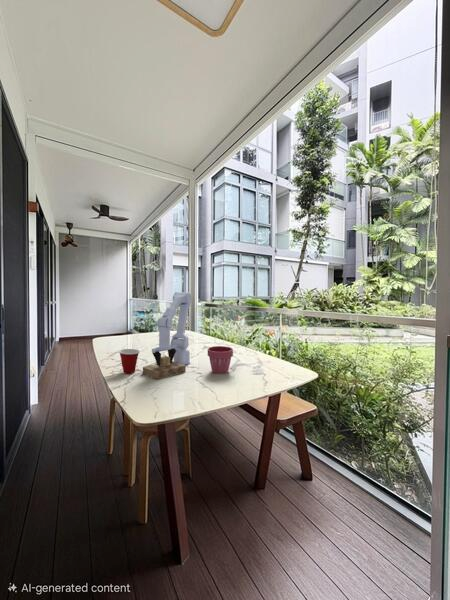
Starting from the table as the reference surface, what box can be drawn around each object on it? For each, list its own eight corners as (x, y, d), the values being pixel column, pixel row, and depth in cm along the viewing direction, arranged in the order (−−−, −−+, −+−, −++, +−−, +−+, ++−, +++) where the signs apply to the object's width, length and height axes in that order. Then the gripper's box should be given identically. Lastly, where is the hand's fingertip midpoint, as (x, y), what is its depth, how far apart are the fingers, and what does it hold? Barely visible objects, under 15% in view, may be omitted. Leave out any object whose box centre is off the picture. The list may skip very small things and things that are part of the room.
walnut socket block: (170, 366, 155) (170, 360, 155) (185, 371, 145) (185, 365, 145) (142, 373, 142) (142, 366, 142) (157, 379, 132) (157, 372, 132)
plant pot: (230, 376, 138) (231, 352, 138) (204, 374, 141) (204, 350, 140) (234, 368, 152) (234, 346, 152) (210, 367, 155) (210, 345, 154)
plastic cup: (135, 375, 138) (135, 352, 138) (115, 375, 139) (115, 352, 138) (142, 369, 149) (142, 348, 149) (123, 369, 149) (123, 348, 149)
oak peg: (165, 370, 146) (165, 355, 146) (170, 371, 144) (170, 357, 143) (159, 371, 143) (159, 357, 143) (163, 373, 141) (163, 358, 140)
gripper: (156, 341, 135) (156, 368, 135) (179, 338, 146) (179, 362, 146) (149, 340, 140) (149, 365, 140) (172, 336, 150) (172, 360, 151)
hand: (164, 363), depth 143 cm, fingers open, 7 cm apart
